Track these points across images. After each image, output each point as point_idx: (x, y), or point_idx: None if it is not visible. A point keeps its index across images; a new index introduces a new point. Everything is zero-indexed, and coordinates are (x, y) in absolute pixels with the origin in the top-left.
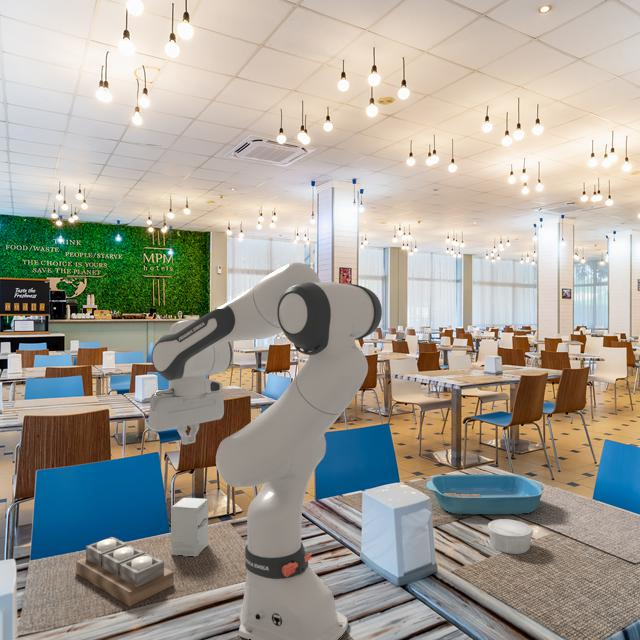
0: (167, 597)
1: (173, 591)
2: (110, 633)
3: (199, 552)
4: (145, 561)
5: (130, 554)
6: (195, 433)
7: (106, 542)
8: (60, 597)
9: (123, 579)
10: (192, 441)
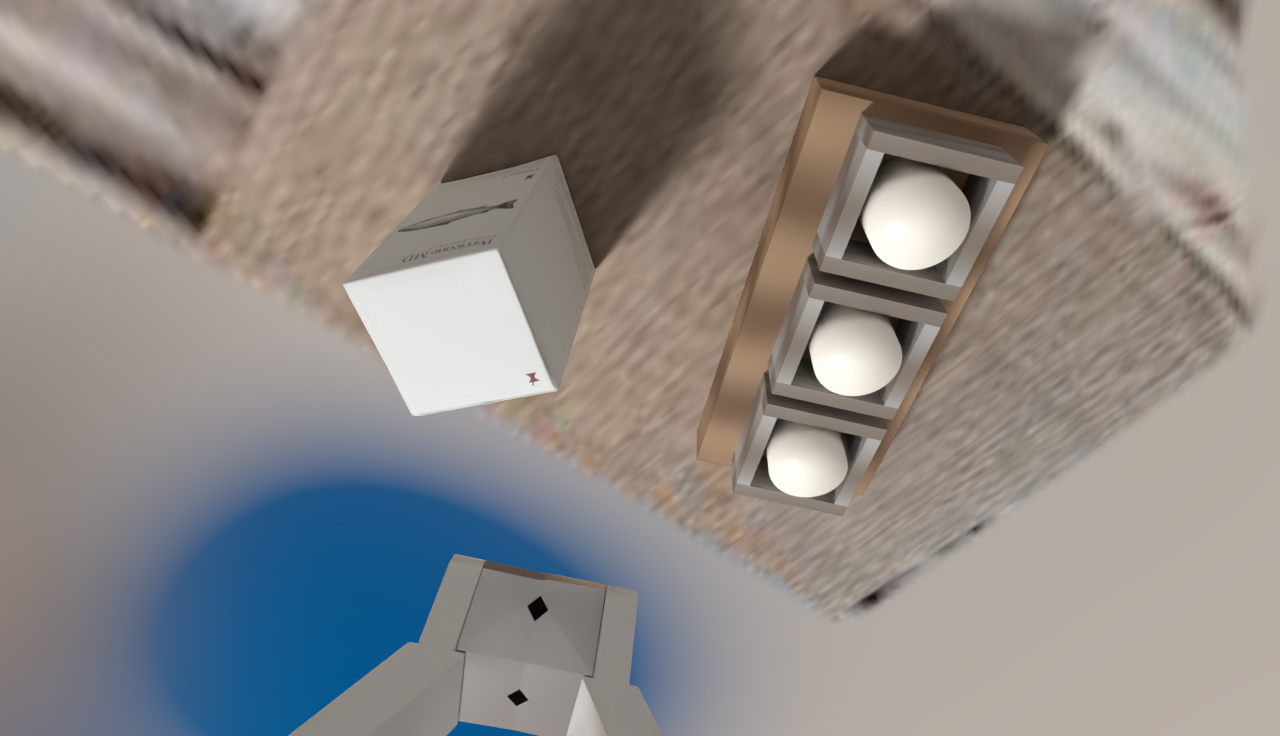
0: (918, 23)
1: (862, 35)
2: (1235, 48)
3: (525, 164)
4: (922, 204)
5: (864, 320)
6: (406, 673)
7: (804, 471)
8: (1011, 399)
9: None
10: (508, 577)
